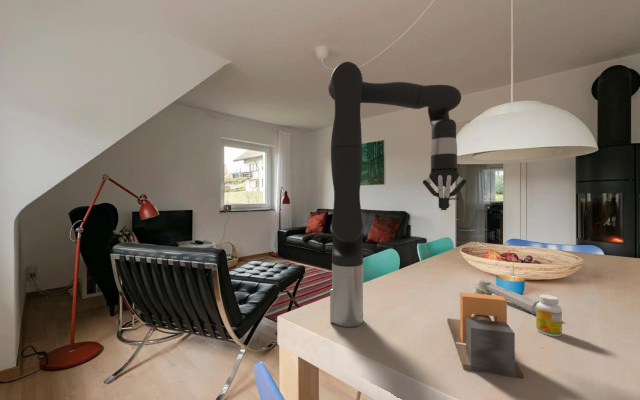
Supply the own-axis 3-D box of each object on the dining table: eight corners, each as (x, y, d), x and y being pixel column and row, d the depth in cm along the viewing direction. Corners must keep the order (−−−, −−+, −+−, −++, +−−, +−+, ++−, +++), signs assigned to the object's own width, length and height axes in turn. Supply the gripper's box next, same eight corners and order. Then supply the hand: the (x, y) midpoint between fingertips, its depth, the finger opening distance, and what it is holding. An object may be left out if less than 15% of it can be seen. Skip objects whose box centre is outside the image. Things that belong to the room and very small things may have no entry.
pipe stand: (463, 368, 60) (463, 325, 60) (447, 321, 82) (447, 290, 82) (523, 378, 56) (523, 332, 56) (489, 326, 79) (489, 294, 79)
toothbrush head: (543, 308, 83) (473, 275, 107) (540, 328, 84) (471, 291, 108) (555, 305, 85) (483, 274, 108) (551, 326, 86) (481, 290, 109)
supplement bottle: (531, 327, 79) (531, 293, 79) (550, 327, 78) (551, 293, 78) (546, 337, 73) (546, 300, 73) (567, 337, 73) (567, 300, 73)
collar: (462, 343, 65) (462, 296, 65) (460, 337, 68) (460, 292, 68) (506, 349, 63) (506, 300, 63) (502, 342, 66) (502, 296, 66)
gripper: (421, 153, 85) (421, 210, 85) (470, 151, 81) (470, 210, 81) (420, 157, 92) (420, 209, 92) (464, 155, 88) (464, 209, 88)
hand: (443, 210), depth 86 cm, fingers closed
